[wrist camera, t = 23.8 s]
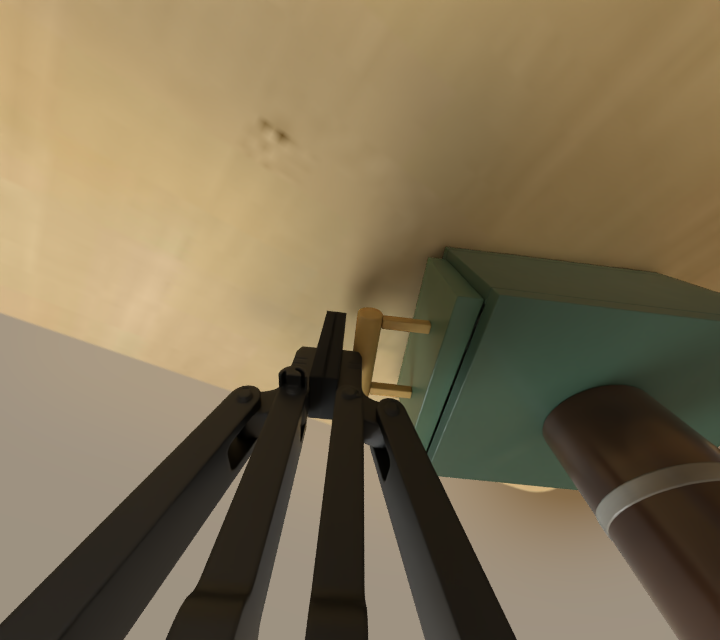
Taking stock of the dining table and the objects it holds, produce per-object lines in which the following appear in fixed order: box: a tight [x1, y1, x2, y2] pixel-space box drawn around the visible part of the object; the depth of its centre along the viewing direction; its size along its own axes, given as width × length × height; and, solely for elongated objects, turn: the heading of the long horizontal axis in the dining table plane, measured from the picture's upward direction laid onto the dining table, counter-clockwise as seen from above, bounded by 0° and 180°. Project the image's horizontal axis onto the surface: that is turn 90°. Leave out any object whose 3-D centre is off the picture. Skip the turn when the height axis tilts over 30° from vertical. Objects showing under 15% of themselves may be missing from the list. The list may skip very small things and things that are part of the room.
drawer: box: [353, 257, 485, 451], centre depth 16 cm, size 18×11×6 cm, turn 83°
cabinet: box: [426, 247, 720, 490], centre depth 16 cm, size 15×12×8 cm
